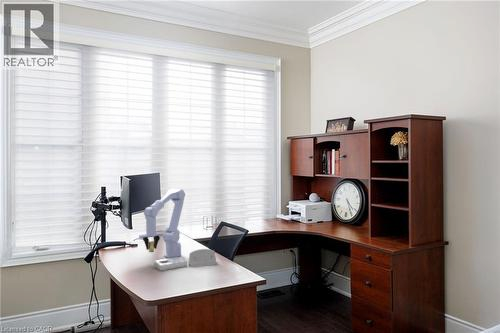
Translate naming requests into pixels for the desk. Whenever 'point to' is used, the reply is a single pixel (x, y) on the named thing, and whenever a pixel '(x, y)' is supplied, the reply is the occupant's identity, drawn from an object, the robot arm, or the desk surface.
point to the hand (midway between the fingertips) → (151, 248)
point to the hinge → (202, 258)
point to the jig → (170, 263)
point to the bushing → (151, 246)
